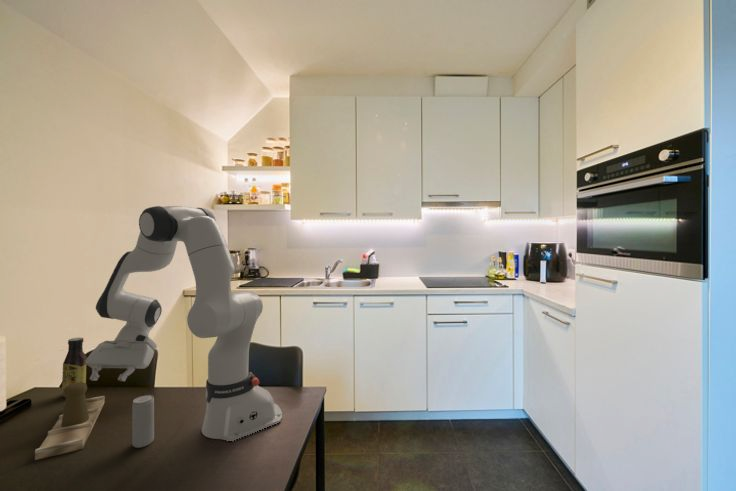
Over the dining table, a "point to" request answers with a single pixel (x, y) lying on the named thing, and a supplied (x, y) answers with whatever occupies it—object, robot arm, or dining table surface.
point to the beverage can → (142, 421)
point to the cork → (75, 405)
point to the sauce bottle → (74, 364)
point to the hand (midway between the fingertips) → (106, 380)
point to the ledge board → (70, 433)
